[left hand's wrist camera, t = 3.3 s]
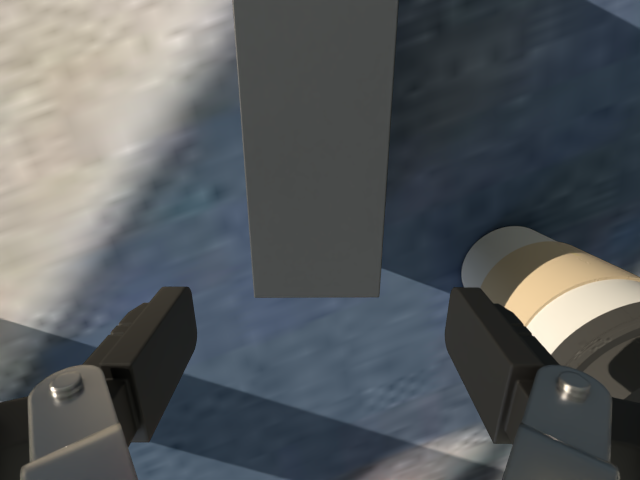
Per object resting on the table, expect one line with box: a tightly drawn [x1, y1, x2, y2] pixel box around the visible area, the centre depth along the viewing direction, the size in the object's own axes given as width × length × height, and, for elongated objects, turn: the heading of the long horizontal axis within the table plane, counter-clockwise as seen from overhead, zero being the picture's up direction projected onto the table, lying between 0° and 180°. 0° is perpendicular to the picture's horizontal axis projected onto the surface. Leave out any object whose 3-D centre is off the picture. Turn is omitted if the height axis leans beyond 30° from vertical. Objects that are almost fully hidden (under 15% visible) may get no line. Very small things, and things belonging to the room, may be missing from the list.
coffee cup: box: [461, 226, 640, 403], centre depth 22 cm, size 9×9×15 cm
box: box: [232, 0, 399, 298], centre depth 19 cm, size 20×6×10 cm, turn 0°
